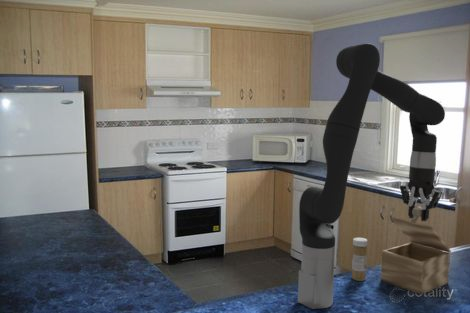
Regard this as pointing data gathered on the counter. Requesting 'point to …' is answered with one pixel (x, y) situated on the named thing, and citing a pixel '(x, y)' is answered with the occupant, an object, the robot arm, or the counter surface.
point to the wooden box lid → (420, 232)
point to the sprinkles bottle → (359, 259)
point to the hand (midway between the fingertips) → (418, 219)
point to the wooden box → (415, 267)
